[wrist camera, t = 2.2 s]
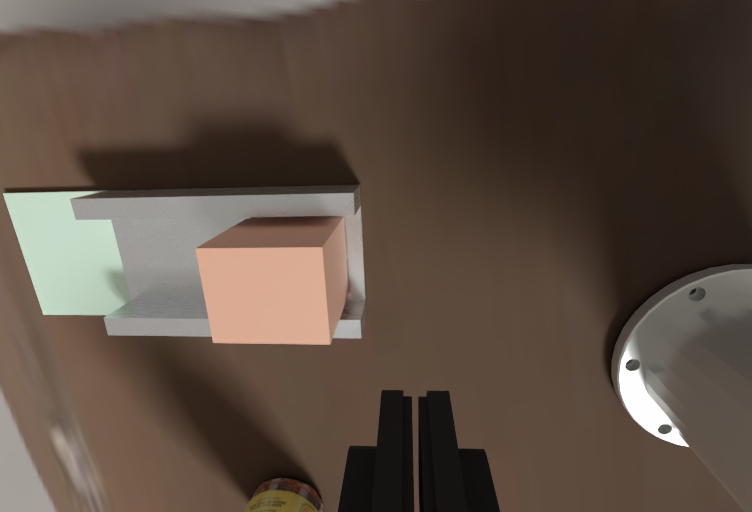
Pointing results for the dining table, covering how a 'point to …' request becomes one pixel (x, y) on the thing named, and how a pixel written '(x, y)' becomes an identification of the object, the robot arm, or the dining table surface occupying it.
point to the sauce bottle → (285, 497)
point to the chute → (195, 227)
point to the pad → (68, 254)
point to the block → (275, 280)
